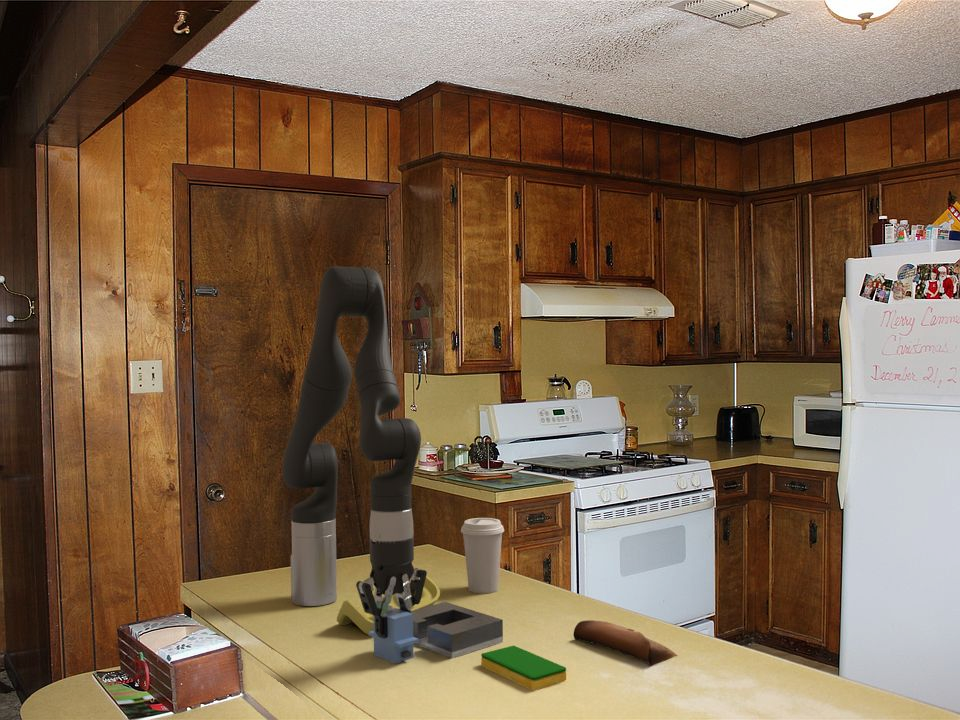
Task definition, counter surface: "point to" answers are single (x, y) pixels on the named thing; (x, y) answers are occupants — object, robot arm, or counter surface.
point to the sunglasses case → (622, 641)
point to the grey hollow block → (455, 629)
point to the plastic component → (365, 620)
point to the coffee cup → (482, 553)
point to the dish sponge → (523, 667)
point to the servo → (395, 637)
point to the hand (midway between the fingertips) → (393, 633)
